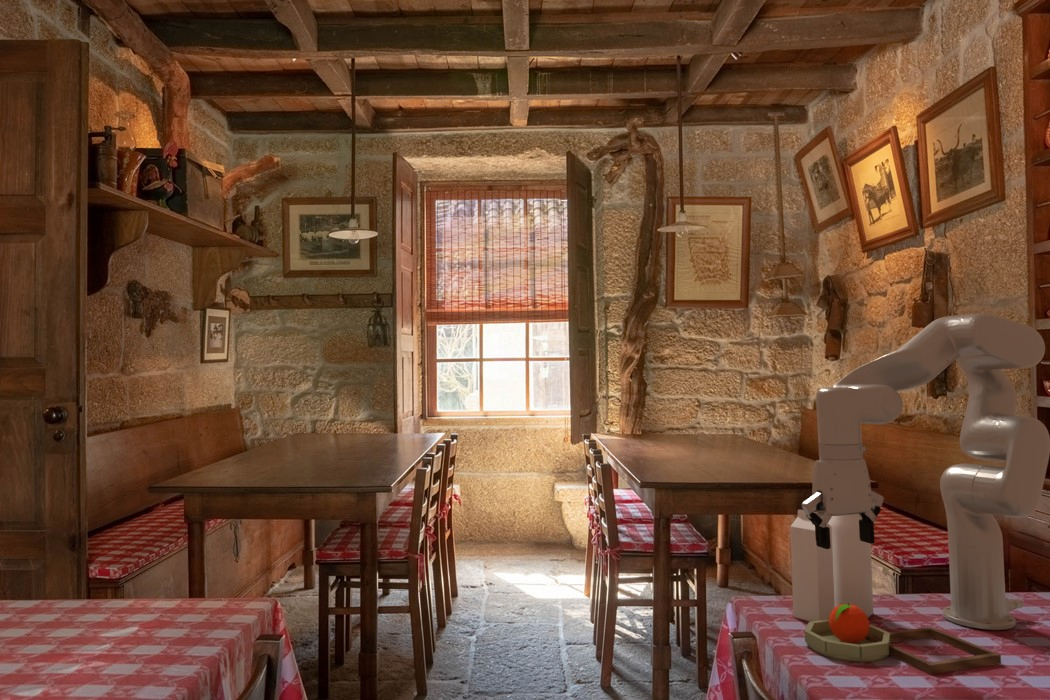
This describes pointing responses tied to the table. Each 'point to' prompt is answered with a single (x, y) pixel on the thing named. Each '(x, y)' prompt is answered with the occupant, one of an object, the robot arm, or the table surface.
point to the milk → (811, 572)
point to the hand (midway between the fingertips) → (845, 544)
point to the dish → (830, 646)
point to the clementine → (849, 623)
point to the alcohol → (851, 564)
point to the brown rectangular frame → (981, 659)
